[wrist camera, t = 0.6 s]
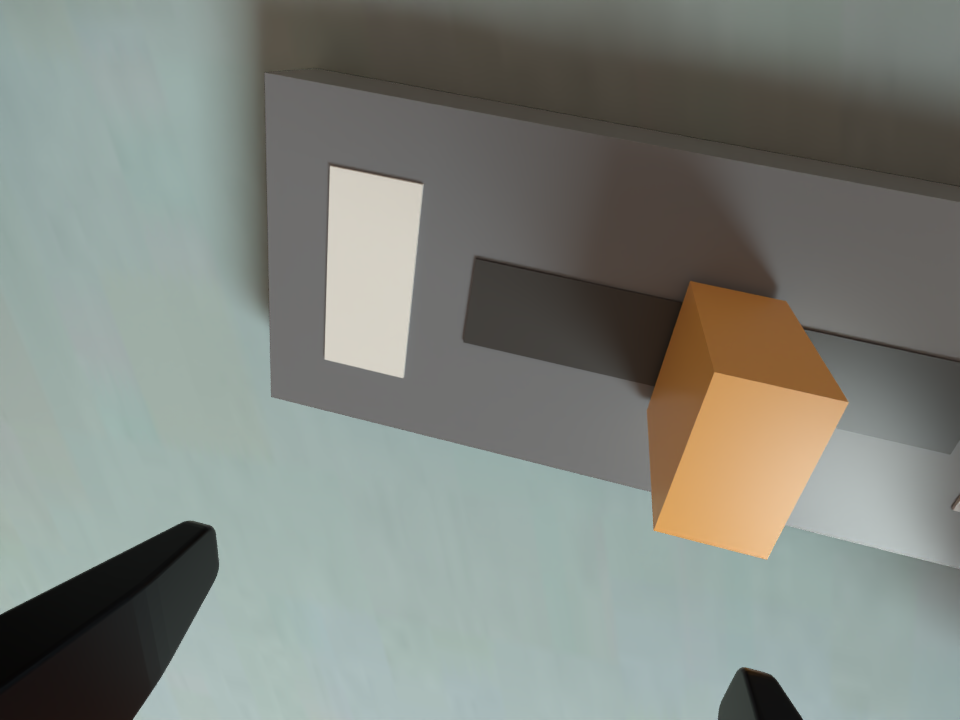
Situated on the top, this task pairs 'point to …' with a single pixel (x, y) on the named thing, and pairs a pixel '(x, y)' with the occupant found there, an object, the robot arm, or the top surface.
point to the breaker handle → (736, 420)
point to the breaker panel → (602, 288)
